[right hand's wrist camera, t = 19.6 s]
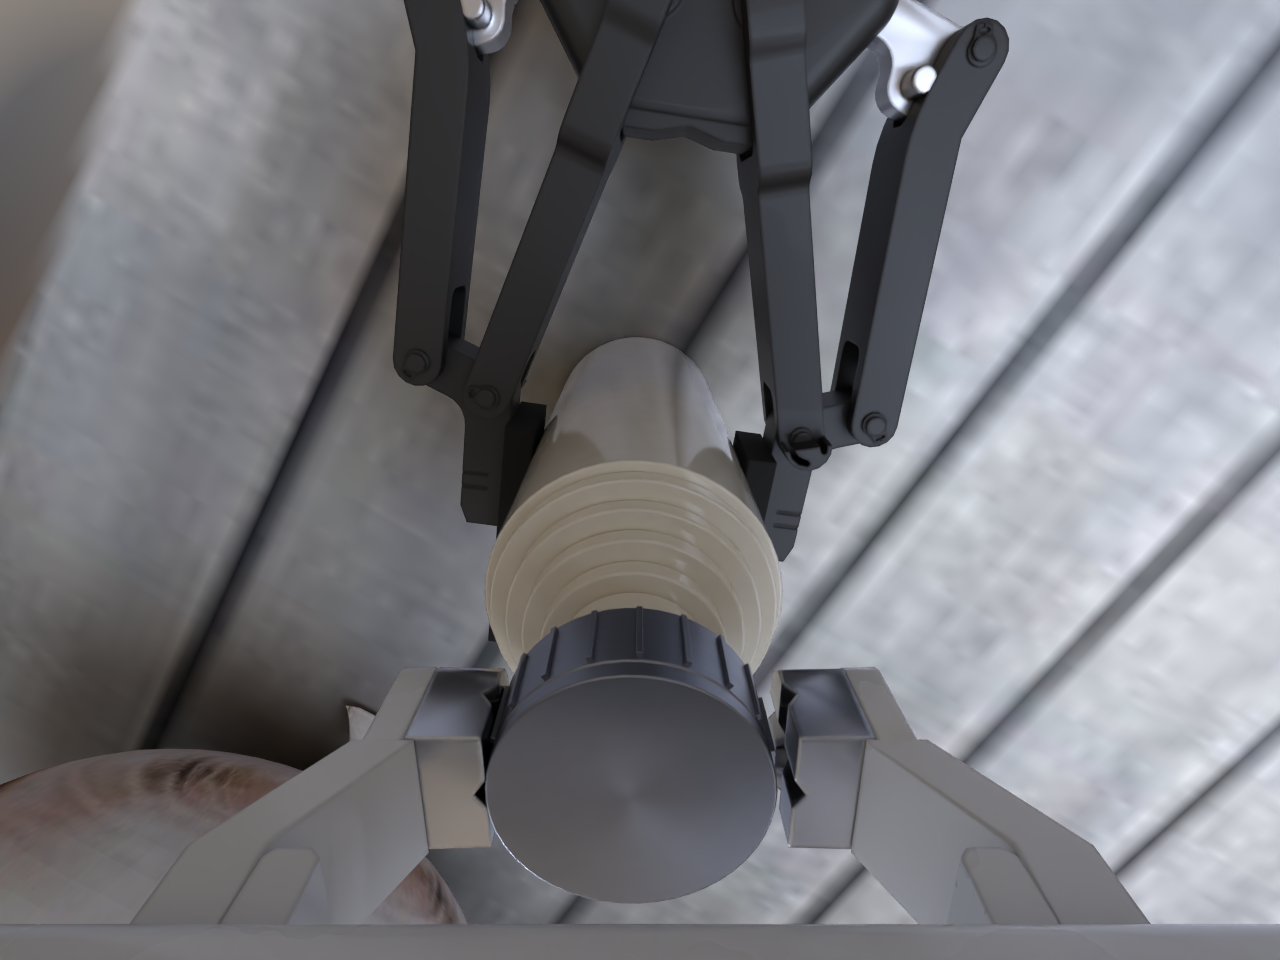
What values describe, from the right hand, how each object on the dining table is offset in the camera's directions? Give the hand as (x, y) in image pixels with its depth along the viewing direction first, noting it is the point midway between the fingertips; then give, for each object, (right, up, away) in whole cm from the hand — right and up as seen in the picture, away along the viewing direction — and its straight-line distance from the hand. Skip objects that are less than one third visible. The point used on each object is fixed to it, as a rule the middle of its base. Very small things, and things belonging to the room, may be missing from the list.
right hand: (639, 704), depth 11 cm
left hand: (-1, -1, +11) cm, 11 cm away
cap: (0, -1, -1) cm, 2 cm away
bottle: (0, +6, +16) cm, 17 cm away
